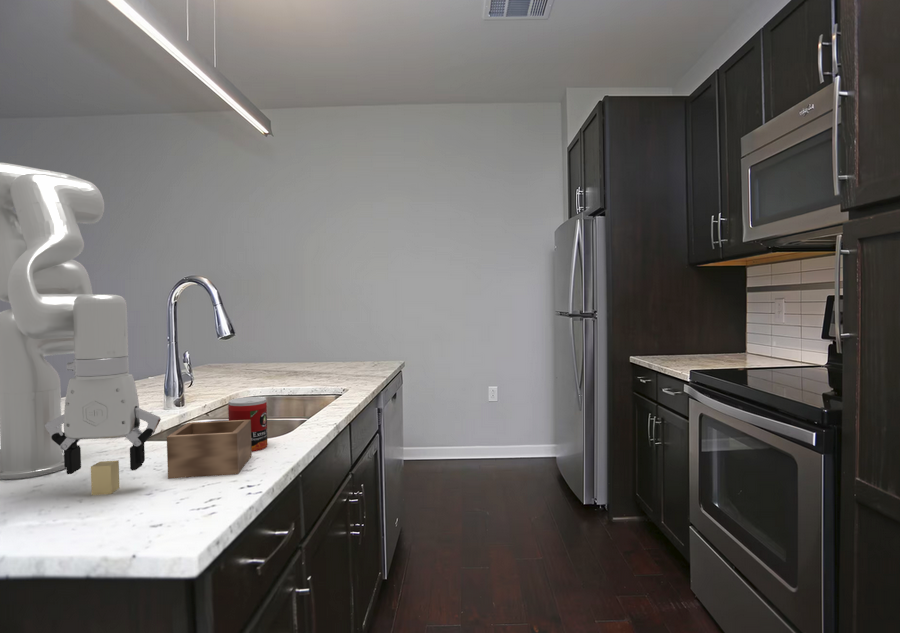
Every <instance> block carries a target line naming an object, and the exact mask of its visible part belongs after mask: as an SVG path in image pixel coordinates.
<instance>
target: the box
mask: <svg viewBox="0 0 900 633" xmlns="http://www.w3.org/2000/svg"><path fill="white" fill-rule="evenodd" d="M166 454H167V455H166V456H167V458H166V459H167V461H166V462H167V479H168V480H169V479H185V478H186V479H187V478H198V477H199V478H201V477H217V476H231V475H232V476H233V475H239V474H240V472H241V471H242V470H243V468H244V467H245V466H246V464H247V463H248V462H249V460H250V459H251V458H252V457H253V456H252V454H253V452H252V450H251V420H232V421H229V420H217V421H216V420H215V421H196V422H195V421H194V422H192V421H191V422H188V423H186V424H184V425H183V426H181V427H179V428H178V429H177V430H175V431H173V432H172V433H170V434H169V435H168V436H166Z"/></svg>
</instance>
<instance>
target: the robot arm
mask: <svg viewBox="0 0 900 633" xmlns="http://www.w3.org/2000/svg"><path fill="white" fill-rule="evenodd" d="M104 212H105V201H104V198H103V195H102V192H101V191H100V189H99V188H98V187H97V186H96V185H95V184H94V183H93V182H91V181H89V180H85V179H83V178H80V177H77V176H75V175H71V174H69V173H68V174H67V173H64V172H59V171H53V170H47V169H42V168H41V169H40V168H37V167H31V166H26V165H20V164H15V163H7V162H2V161H1V162H0V301H2V302H5V303H9V304H10V307H11V308H9V309H5V310H3V311H0V480H17V479H26V478H34V477H38V476H39V477H40V476H42V475H48V474H52V473H55V472H58V471H62V470H64V469H65V470H66V475H72V474H74V473H76V472H77V471H79V470H81V468H82V454H81V453H82V452H81V448H82V447H81V446H80V445H78V443H79V442H80V440H91V439H92V440H93V439H94V440H95V439H96V440H97V439H112V438H114V439H115V438H123V437H125V438H126V439H127V440H129V442H130V444H132V445H131V446H130V447H129V466H130V468H129V469H130V470H131V471H136V470H138V469H140V467H142V466H143V463H144V462H145V459H146V457H145V456H146V455H145V454H146V453H145V443H146V442H147V441H148V440H149V439H150V438H151V437H152V436H153V435H154V434H155V433H156V431H157V430H156V429H157V428H158V426H159V425H160V422H161V420H162V419H161V417H160V416H158V415H156V414H154V413H151V412H149V411H146V410H144V409H141V408H140V402H139V395H138V389H137V386H136V382H135V379H134V375H133V374H129V373H130V372H129V370H130V368H129V342H128V340H129V339H128V338H129V337H128V309H127V307H128V306H127V301H126V299H125V298H124V297H123V296H121V295H118V294H103V293H102V294H100V293H99V294H97V293H96V294H94V293H93V288H92V283H91V280H90V276H89V273H88V271H87V269H86V267H84V265H83V264H82V263H81V262H79V261H77V260H75V258H77V257H78V256H79V255H81V253H82V252H83V251H84V248H85V241H84V239H83V236H82V234H81V230H80V227H79V225H78V224H85V225H93V224H96V223H98V222H99V221H100V220H101V219H102V218H103V215H104ZM67 354H68V355H69V354H70V355H71V354H74V359H73V361H71V362H67V363H66V366H65V368H66V370H67V371H72V372H73V375H74V377H71V378H69V380H68V384H67V387H66V388H67V389H66V394H65V401H64V410H63V414H62V394H61V393H62V392H61V390H62V388H61V378H60V375H59V373H58V371H57V370H56V369H55V368H54V367H53V365H52V364H51V363H50V362H48V361H47V360H46V359H45V357H48V356H49V357H50V356H56V355H67ZM141 420H142V421H143V422H146V423H147V425H146V428H145V430H143V431H142V430H140V425H141Z"/></svg>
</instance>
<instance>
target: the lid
mask: <svg viewBox="0 0 900 633" xmlns="http://www.w3.org/2000/svg"><path fill="white" fill-rule="evenodd" d="M119 462H120V461H119V460H107V461H106V460H105V461H104V460H103V461H98V462H97V463H94V464H93V465H91V466H90V482H91V483H90V484H91V486H90V487H91V496H101V495H112V494H113V493H114V492H116V491H117V490H119V489H120V463H119Z"/></svg>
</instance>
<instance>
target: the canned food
mask: <svg viewBox="0 0 900 633" xmlns="http://www.w3.org/2000/svg"><path fill="white" fill-rule="evenodd" d="M227 404H228V406H227V407H228V408H227V409H228V410H227V414H228V421H232V420H251V450H252V453H255V452H258V451H261V450H264V449H266V448H268V406H267V405H268V404H267V398H266V397H262V396H245V397H243V396H242V397H236V398H233V399H230V400H228V403H227Z"/></svg>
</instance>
